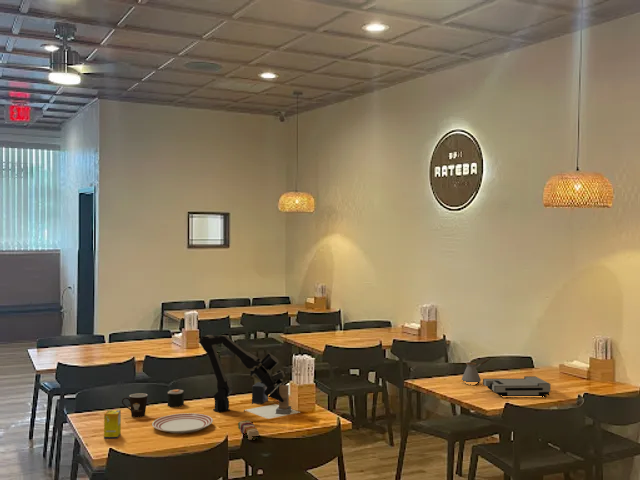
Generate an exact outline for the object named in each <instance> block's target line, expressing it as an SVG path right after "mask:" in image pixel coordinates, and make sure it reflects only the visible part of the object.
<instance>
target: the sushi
mask: <svg viewBox="0 0 640 480" xmlns="http://www.w3.org/2000/svg"><path fill="white" fill-rule="evenodd" d="M184 404H185V391H184V390H183V389H178V388H177V389H171V390H168V391H167V407H168V406H170V407H169V408H179V406H180V407H182V405H183V406H184Z"/></svg>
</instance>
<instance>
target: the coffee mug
mask: <svg viewBox="0 0 640 480" xmlns="http://www.w3.org/2000/svg"><path fill="white" fill-rule="evenodd" d="M124 400H128V401H129V406H130V407H129V406H127V405H126V404H125V402H124ZM121 404H122V405H123V406H124V407H125V408H126V409H127V410H130V413H131V418H142V417H145V416H146V409H147V404H148V394H147V393H142V392H141V393H139V392H138V393H132V394H129V397H124V398H122V400H121Z"/></svg>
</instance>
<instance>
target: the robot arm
mask: <svg viewBox="0 0 640 480" xmlns="http://www.w3.org/2000/svg"><path fill="white" fill-rule="evenodd" d="M220 344H221V345H223V346H225V348H226V349H228V350H229V351H230V352H231V353H233V354H234V355H236V357H238V358H239V359H240V361H241V363H242V364H243V365H244V367H245V368H247V369H248V370H249V369H250V373H249V374H250V377H252V376H253V375H255V376H256V377H257V378H258V380H259V382H261V384H264V385H265V386H266V387H267V388H266V390H265V391H264V394H265V395H266V396H268V398H272V399H274V400H276V401H278V402H279V401H280V402H284V400H283V398H282V397H281V395H280V394H279V386H280V385H285V382H284V378H286V375H285V372H284V370H282V369H281V368H280V369H278V370H277V372H276V373H274V374H273V373H271V372H269V371H271V370H273V369H274V368H275V367H276V366H277V365H278V364H279V363H280V362H279V361H280V360H279V359H278V358H277V357H276V356H274V355H273V354H271V353H270V352H268V353H267V354H266V355H265V357H264V358H259V357H257V356H256V355H254V354H252V353H250V352H248V351H246V350H245V349H243V348H242V347H241V346H240V345H239V344H237V343H236V342H235V341H233V340H232V339H231V338H230V337H229V336H228V335H226V334H221V335H212V334H207V335H204V336H203V337H202V338H201V339H200V345H201V347H202V349H203V350H204V352H205V353H206V354H207V355H208V358H209V361H210V364H211V366H212V370H213V373H214V376H215V379H216V387H217V388H216V389H217V392H216V393H215V394H214V395H213V399H214V408H212V411H215V412H217V413H224V412H229V411H230V410H231V409H230V400H229V397H230V395H231V393H232V392H233V391H234V389H233V387H234V384H233V382H232V379H231V378H228V377H226V374H225V372H224V368H223V365H222V363H221V360H220V356H219V355H218V352H217V345H220ZM268 370H269V371H268Z"/></svg>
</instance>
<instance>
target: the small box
mask: <svg viewBox="0 0 640 480" xmlns="http://www.w3.org/2000/svg"><path fill="white" fill-rule="evenodd" d="M266 388H267V387H266V386H265V385H264V384H261V381H257V382H255V384H253V385H252V387H251V389H252V390H251V405H253V404H257V405H258V404H260V405H263V404H265V403H266V402H268V401H269V397H268V396H269V395H268V396H266V395H265V394H264V391H265V390H266Z"/></svg>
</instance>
